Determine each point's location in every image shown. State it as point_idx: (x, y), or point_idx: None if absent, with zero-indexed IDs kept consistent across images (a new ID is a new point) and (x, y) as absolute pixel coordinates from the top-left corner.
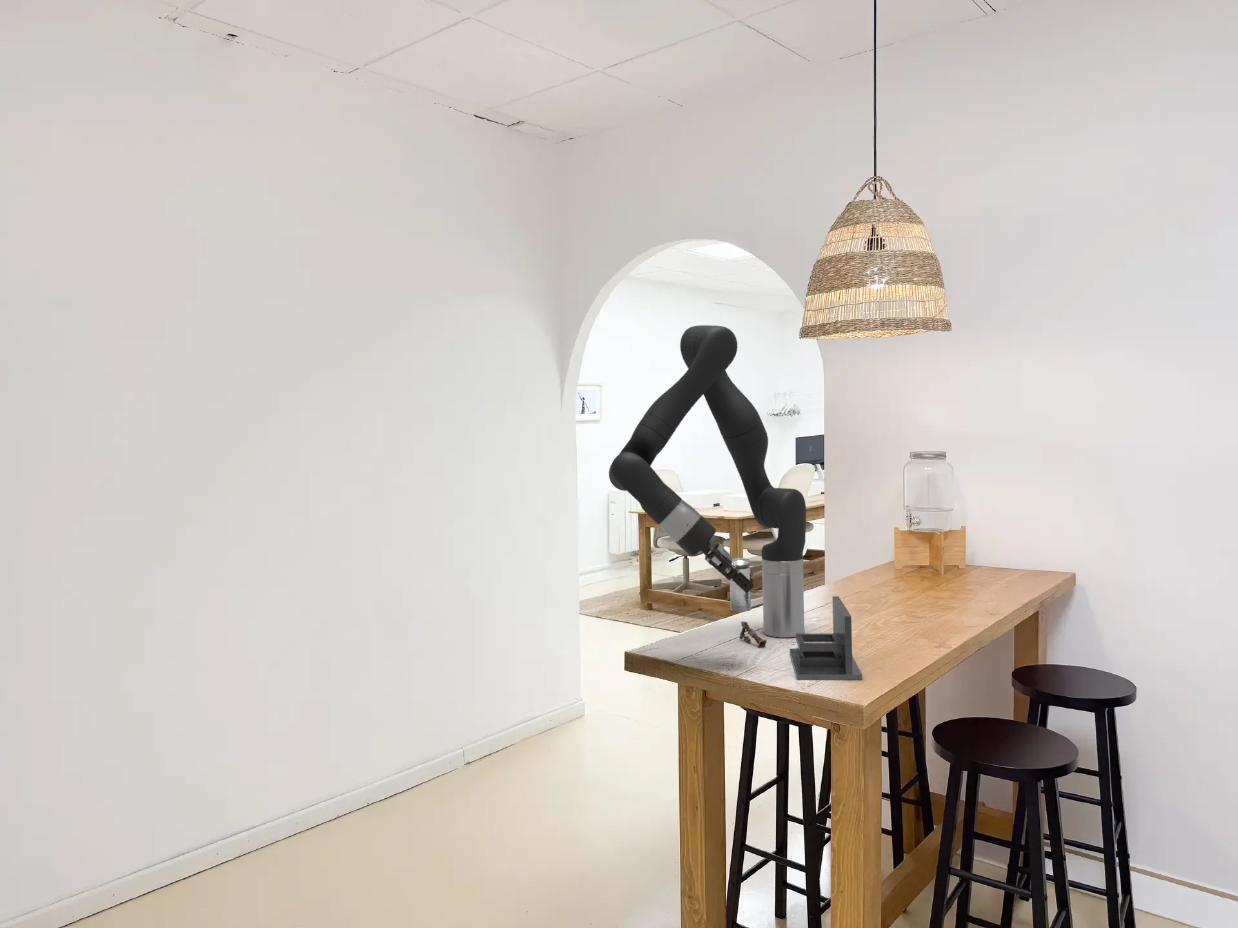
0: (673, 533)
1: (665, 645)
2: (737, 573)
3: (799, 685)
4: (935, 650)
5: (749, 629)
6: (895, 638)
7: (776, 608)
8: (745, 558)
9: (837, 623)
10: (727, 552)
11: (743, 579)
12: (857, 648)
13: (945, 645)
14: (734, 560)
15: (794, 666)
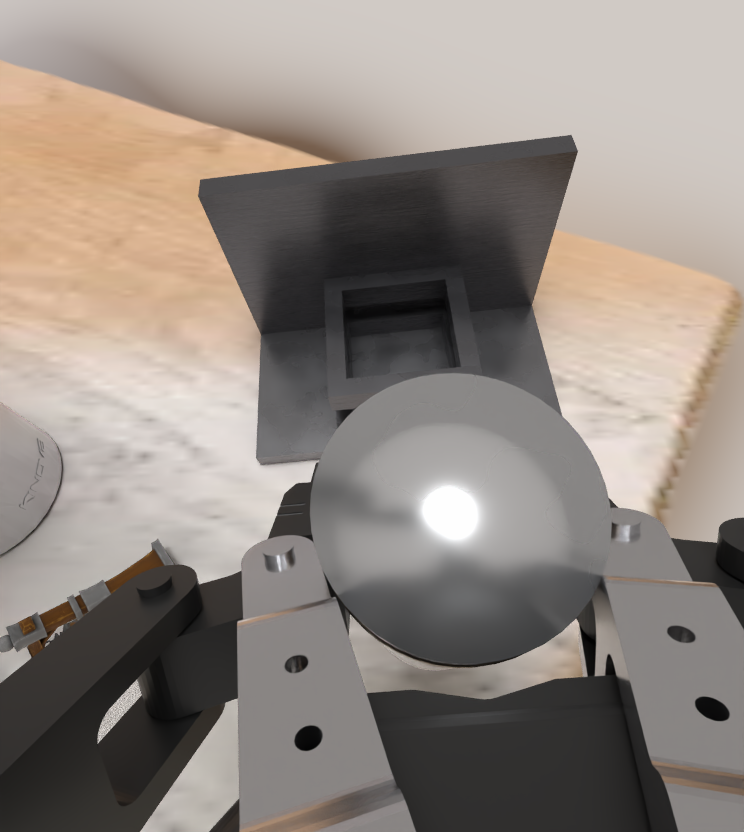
0: None
1: None
2: (684, 541)
3: (619, 427)
4: (245, 152)
5: (73, 609)
6: (126, 213)
7: None
8: (352, 422)
9: (356, 242)
10: (322, 700)
11: (609, 502)
12: (214, 289)
13: (204, 136)
14: (517, 563)
15: None
